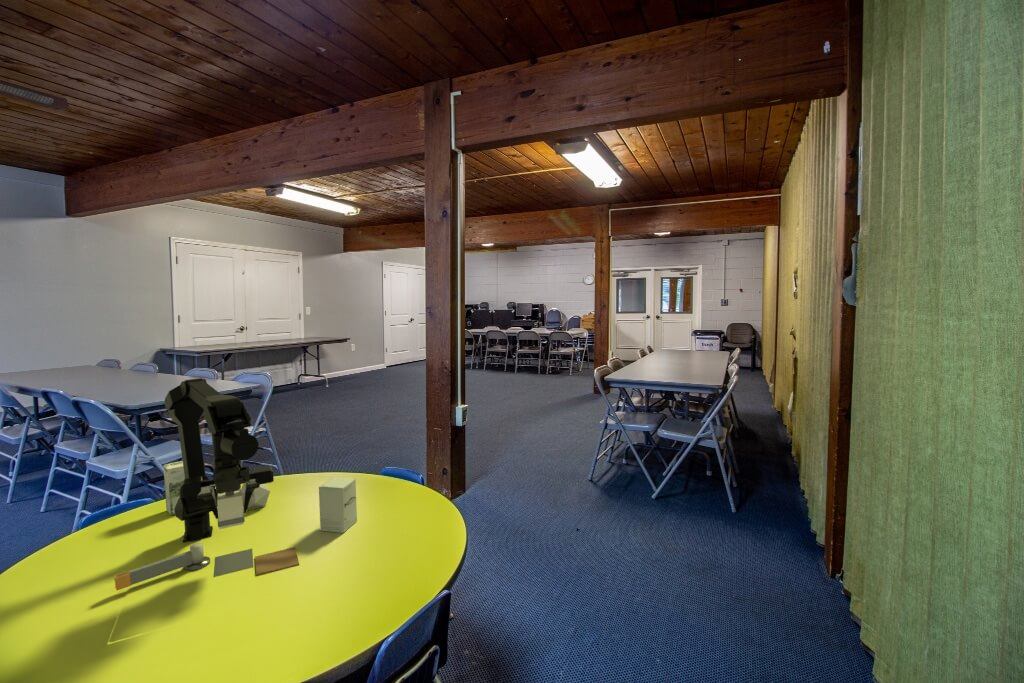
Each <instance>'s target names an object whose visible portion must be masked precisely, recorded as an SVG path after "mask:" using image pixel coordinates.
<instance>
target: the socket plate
mask: <svg viewBox="0 0 1024 683" xmlns="http://www.w3.org/2000/svg"><path fill="white" fill-rule="evenodd" d="M253 556H254V555H253V548H248V549H244V550H239V551H236V552H231V553H227V554H223V555H218V556H214V557H215V558H214V569H213V578H216V577H219V576H224V575H227V574H232V573H237V572H239V571H240V572H241V571H244V570H248V569H252V568H254V557H253Z"/></svg>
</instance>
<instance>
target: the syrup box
mask: <svg viewBox="0 0 1024 683" xmlns="http://www.w3.org/2000/svg"><path fill="white" fill-rule="evenodd" d="M162 468H163V479H164V480H163V481H164V482H163V483H164V491H165V492H164V494H165V496H164V497H165V508H166V511H167V512H168V514H169V515H170V516H174V515H175V510H174V509H175V506H176V504H177V501H178V499H179V498H180V496H179V490H180V487H181V484H182V481H183V480H184V479H185V475H184V467H183V460H180V461H176V462H171V463H166V464H163V467H162ZM175 516H176V515H175Z"/></svg>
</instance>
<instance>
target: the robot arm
mask: <svg viewBox="0 0 1024 683" xmlns="http://www.w3.org/2000/svg"><path fill="white" fill-rule="evenodd" d="M164 407H165V409H166V411H167V412H168V417H169V418H170V419H172V420H173V422H175V424H176V425H177V429H178V436H179V443H180V444H179V445H180V452H181V458H182V459H181V461H183V467H184V475H185V479H184V480H183V481H182V484H181V487H180V490H179V496H180V498H179V499H178V501H177V504H176V506H175V509H174V510H175V518H177V519H179V521H180V522H184V523H183V525H184V533H183V537H182V543H184V544H185V543H188V542H193V541H198V540H202V539H208V538H211V537H212V536H213V525H211V521H210V520H211V519H210V518H211V517H210V513H211V512H212V514H213V516H214V517H215V519H216V520H218V504H217V497H218V494H222V493H224V492H229V491H238V490H239V489H241V488H242V485H243V483H245V482H246V483H245V495H244V507H243V509H244V514H247V511H248V510H247V508H248V504H249V501H250V498H251V495H252V493H253V491H254V490H255V488H259V487H260V484H270V483H273V482H274V470H273V466H271V465H270V464H269V465H261V466H255V467H253V469H254V471H251V472H250V467H249V466H248V465H247V466H243V462H242V461H247V460H249V459H251V458H252V457H254V456H255V455H256V454H257V452H258V449H259V445H260V444H259V441H258V439H257V438H256V436H254V435H252V434H250V433H249V429H248V428H250V427H252V423H251V420H252V418H251V416H250V415H249V413H248V410H247V408H246V405H245V404H244V403H243V401H242V400H241V399H240V398H239V397H237V396H234V395H229V394H228V395H227V394H222V393H221V392H219V391H218V390H217V389H215V388H214V387H212V386H211V385H210V384H208V383H207V380H206V379H205V378H202V377H200V378H199V377H198V378H191V379H185V380H184V381H181V382H180V384H179V385H178V386H176V387H174V388H172V389H171V390H169V391H168V392H167V394H166V396H165V397H164ZM202 415H203V418H204V420H205V423H207V426H208V428H209V431H210V432H211V443H212V459H213V473H212V475H213V476H212V478H209V477H208V475H206V467H205V460H204V459H205V458H204V453H203V445H202V438H201V429H200V419H201V418H202Z"/></svg>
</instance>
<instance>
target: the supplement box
mask: <svg viewBox="0 0 1024 683" xmlns="http://www.w3.org/2000/svg"><path fill="white" fill-rule="evenodd" d="M356 481H357V480H356V478H350V477H348V478H347V477H346V478H345V477H332V478H331V479H329V480H327V481H325V482H324V483H323V484H321V485H320V486H318V500H319V502H318V503H319V504H318V506H319V523H320V524H319V527H320V528H319V529H320V531H321V532H329V533H339V534H340V533H341V534H344V533H345V532H346V531H347V530H348V529H350V528H351V527H352V526H353V525H355V523H357V522H358V511H357V510H358V509H357V507H358V505H357V482H356Z"/></svg>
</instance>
